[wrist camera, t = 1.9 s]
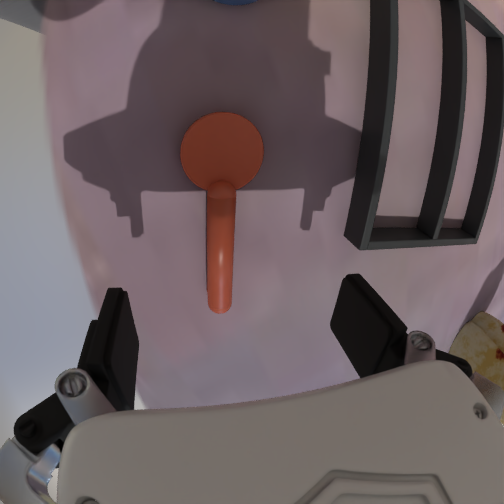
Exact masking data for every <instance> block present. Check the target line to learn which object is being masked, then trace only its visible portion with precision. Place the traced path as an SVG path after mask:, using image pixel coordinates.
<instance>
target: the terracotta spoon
mask: <svg viewBox="0 0 504 504" xmlns="http://www.w3.org/2000/svg"><path fill="white" fill-rule="evenodd" d="M263 156H264V146H263V141H262V138H261V135H260V133H259V132H258V130H257V128H256V127H255V126H254V125H253V124H252V123H251V122H250V121H249V120H247V119H246V118H244V117H242V116H240V115H238V114H235V113H230V112H215V113H210V114H207V115H205V116H203V117H201V118H199V119H198V120H196V121H195V122H194V123H193V124H192V125H191V126H190V127H189V128H188V130H187V131H186V133H185V135H184V137H183V140H182V144H181V150H180V158H181V164H182V167H183V169H184V171H185V173H186V175H187V176H188V178H189V179H190V180H191V181H192V182H193V183H194V184H195V185H197V186H198V187H200V188H202V189H204V190H207V191H208V193H207V292H208V305H209V308H210V309H211V310H212V311H213V312H215V313H218V314H221V313H225V312H226V311H228V310H229V309H230V307H231V303H232V276H233V252H234V229H235V209H236V190H237V189H239V188H241V187H243V186H245V185H246V184H247V183H249V182H250V181H251V180H252V179H253V178H254V177H255V175H256V174H257V172H258V171H259V169H260V167H261V164H262V161H263Z"/></svg>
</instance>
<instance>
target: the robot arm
mask: <svg viewBox="0 0 504 504" xmlns="http://www.w3.org/2000/svg"><path fill="white" fill-rule="evenodd" d="M330 327H331V330H332V332H333V333H334V335H335V336H336V338H337V340H338V341H339V343H340V345H341V346H342V348H343V350H344V351H345V353H346V355H347V356H348V358H349V360H350V361H351V363H352V365H353V366H354V368H355V370H356V371H357V373H358V375H359V376H360V379H357V380H353V381H349V382H345V383H341V384H337V385H333V386H329V387H325V388H321V389H316V390H312V391H307V392H302V393H297V394H292V395H287V396H281V397H275V398H269V399H263V400H256V401H249V402H241V403H233V404H224V405H213V406H201V407H187V408H169V409H144V410H134V400H135V384H136V372H137V361H138V351H139V340H138V336H137V332H136V328H135V324H134V320H133V316H132V311H131V307H130V302H129V298H128V293H127V291H123V289H122V288H108V290H107V293H106V296H105V299H104V302H103V305H102V308H101V311H100V314H99V317H98V320H92V321H91V323H90V326H89V329H88V332H87V335H86V338H85V342H84V345H83V349H82V352H81V356H80V359H79V363H78V367H77V368H72V369H68V370H65V371H64V372H62V373H61V374H60V375H59V376H58V378H57V379H56V382H55V391H56V393H54V394H53V395H51V396H50V397H48V398H47V399H45V400H44V401H42V402H41V403H39V404H38V405H36V406H35V407H33V408H32V409H30V410H29V411H27V412H26V413H24V414H23V415H21V416H20V417H19V418H18V419H17V421H16V423H15V425H14V435H15V436H14V437H13V438H12V440H11V439H10V438H9V439H8V440H7V441H6V442H5V443H4V445H3V446H2V447H1V449H0V500H1V501H2V502H3V503H4V504H504V427H503V425H502V423H501V422H500V420H501V416H502V412H503V408H504V390H503V389H502V388H501V387H500V386H498V385H497V384H495V383H493V382H492V381H490V380H489V379H487V378H485V377H484V376H482V375H481V374H479V373H477V372H476V371H475V372H474V373H472V372H473V371H472V367H471V365H470V364H469V363H468V362H467V361H466V360H465V359H463V358H460V357H457V356H455V355H452V354H449V353H446V352H443V351H440V350H437V349H435V342H434V340H433V339H432V338H431V337H430V336H429V335H428V334H426V333H424V332H422V331H412V332H410V333H409V334H407V333H406V331H407V329H408V328H407V327H406V325H405V324H404V323H403V322H402V321H401V320H400V318H399V317H398V316H397V315H396V314H395V313H394V311H393V310H392V309H391V308H390V307H389V306H388V305H387V303H386V302H385V301H384V300H383V299H382V298H381V297H380V296H379V295H378V293H377V292H376V291H375V290H374V289H373V288H372V287H371V286H370V285H369V283H368V282H367V281H366V280H365V279H364V278H363V277H362V276H361V275H360V274H348V275H346V277H345V278H344V279H343V280H342V283H341V287H340V291H339V294H338V298H337V302H336V305H335V309H334V312H333V315H332V319H331V322H330ZM55 468H59V472H58V483H57V484H58V485H57V503H56V502H54V501H53V500H52V498H51V497H50V496H49V493H48V490H47V485H48V483H49V481H50V479H51V478H52V475H51V473H52V472H53V470H54V469H55ZM95 500H96V501H95Z"/></svg>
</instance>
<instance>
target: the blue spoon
mask: <svg viewBox="0 0 504 504" xmlns="http://www.w3.org/2000/svg"><path fill="white" fill-rule="evenodd" d="M213 1H216V2H219V3H222V4H227V5H245V4H250V3H253V2H256V1H258V0H213Z"/></svg>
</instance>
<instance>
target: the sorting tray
mask: <svg viewBox="0 0 504 504" xmlns="http://www.w3.org/2000/svg"><path fill="white" fill-rule="evenodd" d="M440 4H441V17H442V39H443V62H442V85H441V99H440V109H439V118H438V126H437V134H436V140H435V147H434V152H433V158H432V163H431V169H430V174H429V178H428V183H427V187H426V192H425V196H424V200H423V204H422V208H421V212H420V216H419V219H418V223H417V226H416V228H373V224H374V220H375V215H376V211H377V207H378V202H379V197H380V193H381V188H382V183H383V177H384V172H385V167H386V161H387V155H388V149H389V142H390V135H391V128H392V120H393V112H394V103H395V92H396V80H397V64H398V0H370V47H369V66H368V80H367V91H366V102H365V111H364V120H363V128H362V136H361V143H360V150H359V157H358V163H357V169H356V175H355V181H354V187H353V192H352V198H351V203H350V208H349V213H348V218H347V223H346V228H345V232H344V236H345V237H346V238H347V239H348V240H349V241H350V242H351V243H352V244H353V245H354V246H355V247H356V248H357V249H359V250H376V249H395V248H413V247H431V246H448V245H466V244H476V243H477V241H478V238H479V235H480V232H481V229H482V226H483V223H484V219H485V216H486V213H487V209H488V206H489V202H490V198H491V194H492V190H493V186H494V182H495V177H496V172H497V167H498V162H499V157H500V151H501V144H502V137H503V129H504V35H503V34H502V33H501V32H500V31H499V30H498V29H497V28H496V27H495V26H494V25H493V24H492V23H491V22H490V21H489V20H488V19H487V18H486V17H485V16H484V15H483V14H482V13H481V12H480V11H479V10H477V9H476V8H475V7H474V6H473V5H472V4H471V3H469V2H468V1H467V0H440ZM465 20H466V21H467V22H469V23H470V24H471V25H472V26H473V27H475V28H476V29H477V30H478V31H479V32H480V33H482V34H483V35H484V36H485V37H486V53H487V86H486V104H485V116H484V125H483V133H482V140H481V147H480V153H479V158H478V164H477V169H476V174H475V178H474V183H473V187H472V191H471V195H470V199H469V203H468V207H467V210H466V214H465V217H464V220H463V224H462V227H461V228H441V226H442V222H443V219H444V215H445V212H446V208H447V204H448V201H449V197H450V193H451V188H452V184H453V180H454V175H455V170H456V165H457V160H458V155H459V149H460V143H461V136H462V129H463V121H464V111H465V100H466V84H467V39H466V23H465Z"/></svg>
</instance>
